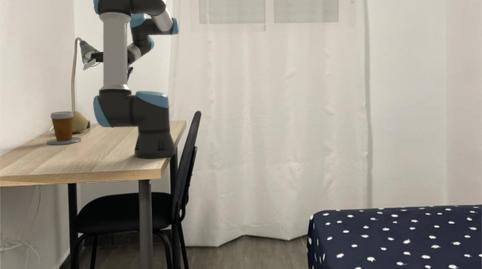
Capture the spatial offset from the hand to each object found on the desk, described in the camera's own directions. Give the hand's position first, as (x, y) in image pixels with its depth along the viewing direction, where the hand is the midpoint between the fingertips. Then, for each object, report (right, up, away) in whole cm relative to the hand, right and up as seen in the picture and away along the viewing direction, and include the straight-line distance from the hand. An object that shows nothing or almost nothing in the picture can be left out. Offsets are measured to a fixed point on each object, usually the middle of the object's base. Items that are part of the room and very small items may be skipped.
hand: (96, 77), depth 199 cm
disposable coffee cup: (-15, -27, +4) cm, 31 cm away
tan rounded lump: (-18, -23, +29) cm, 41 cm away
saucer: (-15, -27, +4) cm, 32 cm away
